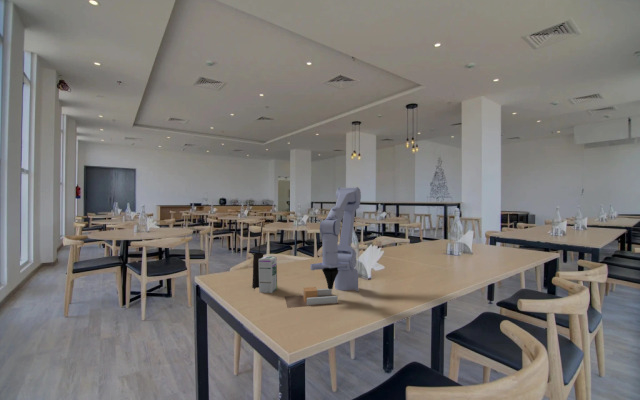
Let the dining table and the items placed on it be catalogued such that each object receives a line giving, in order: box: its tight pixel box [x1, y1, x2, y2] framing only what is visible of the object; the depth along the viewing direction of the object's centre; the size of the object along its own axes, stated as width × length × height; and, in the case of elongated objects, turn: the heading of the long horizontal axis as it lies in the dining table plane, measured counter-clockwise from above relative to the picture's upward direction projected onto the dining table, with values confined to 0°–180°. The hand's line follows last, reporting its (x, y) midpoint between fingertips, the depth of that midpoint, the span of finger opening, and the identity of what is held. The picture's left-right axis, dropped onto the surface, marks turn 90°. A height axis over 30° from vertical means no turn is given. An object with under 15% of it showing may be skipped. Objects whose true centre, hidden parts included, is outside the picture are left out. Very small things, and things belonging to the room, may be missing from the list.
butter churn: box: [251, 222, 264, 289], centre depth 129 cm, size 9×10×28 cm
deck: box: [284, 294, 339, 309], centre depth 109 cm, size 18×12×1 cm, turn 101°
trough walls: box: [302, 288, 339, 305], centre depth 110 cm, size 11×10×2 cm
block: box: [303, 286, 318, 302], centre depth 109 cm, size 4×4×4 cm
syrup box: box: [258, 255, 278, 294], centre depth 121 cm, size 6×6×14 cm
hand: (330, 288), depth 110 cm, fingers closed
